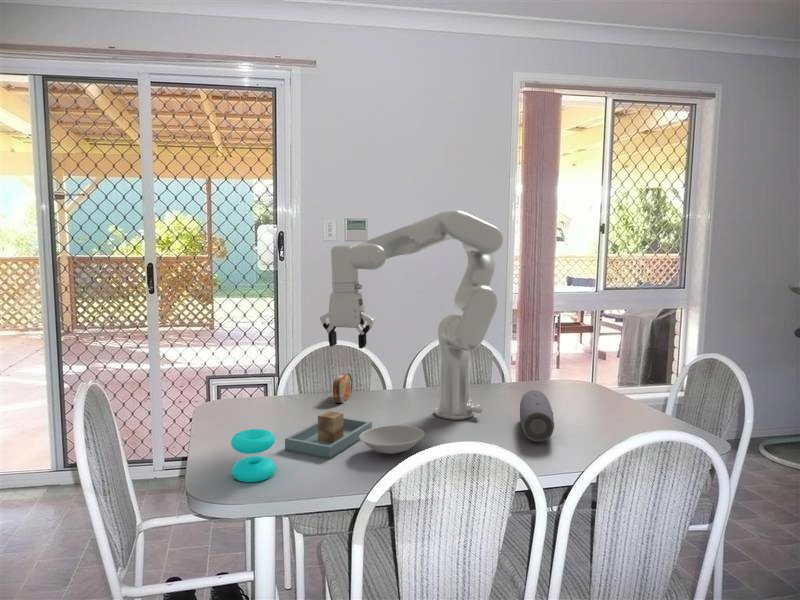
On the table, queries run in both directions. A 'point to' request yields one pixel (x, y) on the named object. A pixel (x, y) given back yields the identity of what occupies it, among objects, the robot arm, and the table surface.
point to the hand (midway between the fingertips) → (347, 346)
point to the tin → (342, 388)
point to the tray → (311, 446)
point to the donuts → (254, 465)
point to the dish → (391, 438)
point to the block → (330, 426)
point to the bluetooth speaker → (536, 416)
